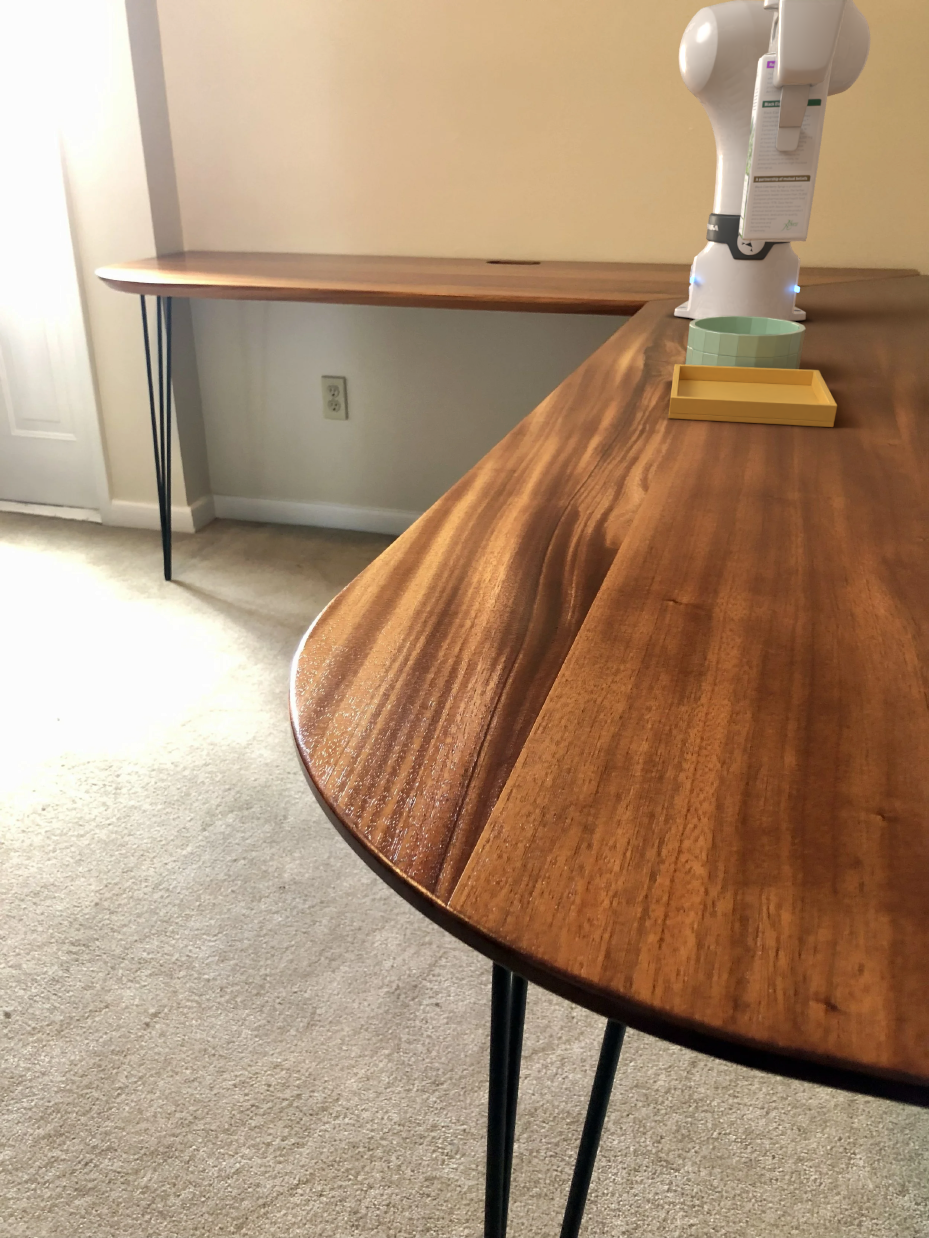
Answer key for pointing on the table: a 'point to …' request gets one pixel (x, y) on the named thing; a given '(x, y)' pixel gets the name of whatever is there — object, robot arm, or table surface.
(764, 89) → the syrup box
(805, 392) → the tray
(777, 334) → the bowl
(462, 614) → the table surface
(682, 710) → the table surface
